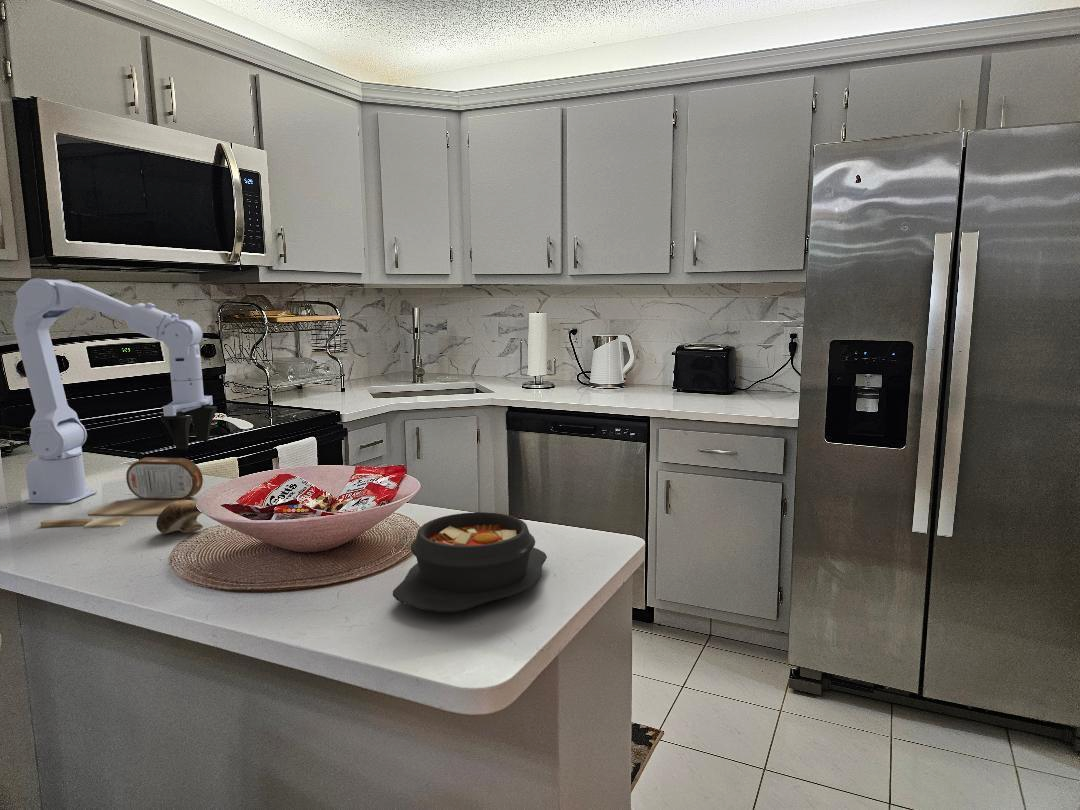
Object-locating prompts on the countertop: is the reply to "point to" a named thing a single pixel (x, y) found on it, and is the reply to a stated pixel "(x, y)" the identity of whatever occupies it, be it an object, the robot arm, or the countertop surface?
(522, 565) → the casserole
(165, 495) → the tin
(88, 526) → the turner
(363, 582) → the countertop surface
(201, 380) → the robot arm
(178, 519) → the mushroom
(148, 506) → the tan flat board
